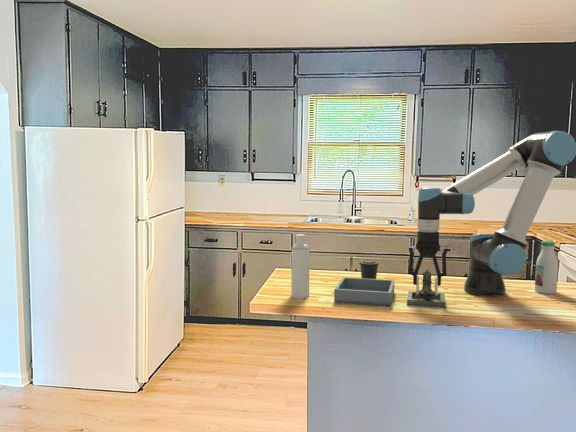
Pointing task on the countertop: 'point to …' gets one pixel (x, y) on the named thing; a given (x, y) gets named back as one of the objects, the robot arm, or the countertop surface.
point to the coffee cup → (369, 269)
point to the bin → (364, 291)
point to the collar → (426, 302)
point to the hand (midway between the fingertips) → (426, 293)
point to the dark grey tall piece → (426, 287)
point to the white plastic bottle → (300, 268)
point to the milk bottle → (546, 269)
